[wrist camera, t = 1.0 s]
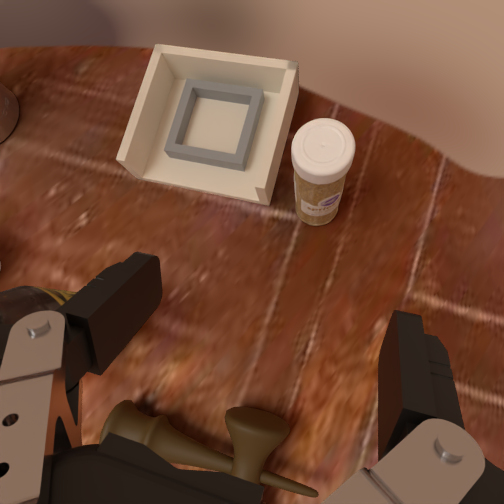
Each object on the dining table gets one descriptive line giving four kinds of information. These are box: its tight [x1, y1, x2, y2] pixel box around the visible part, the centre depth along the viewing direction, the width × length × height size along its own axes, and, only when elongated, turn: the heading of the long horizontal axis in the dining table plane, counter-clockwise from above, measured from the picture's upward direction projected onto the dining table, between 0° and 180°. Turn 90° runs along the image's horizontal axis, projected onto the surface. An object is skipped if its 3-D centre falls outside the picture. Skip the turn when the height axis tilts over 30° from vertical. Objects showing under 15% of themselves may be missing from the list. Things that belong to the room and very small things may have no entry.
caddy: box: [116, 44, 299, 206], centre depth 40 cm, size 16×14×5 cm
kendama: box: [99, 400, 318, 497], centre depth 33 cm, size 6×10×20 cm
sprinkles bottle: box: [291, 118, 355, 226], centre depth 32 cm, size 5×5×13 cm
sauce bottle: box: [0, 286, 77, 324], centre depth 30 cm, size 6×6×20 cm
